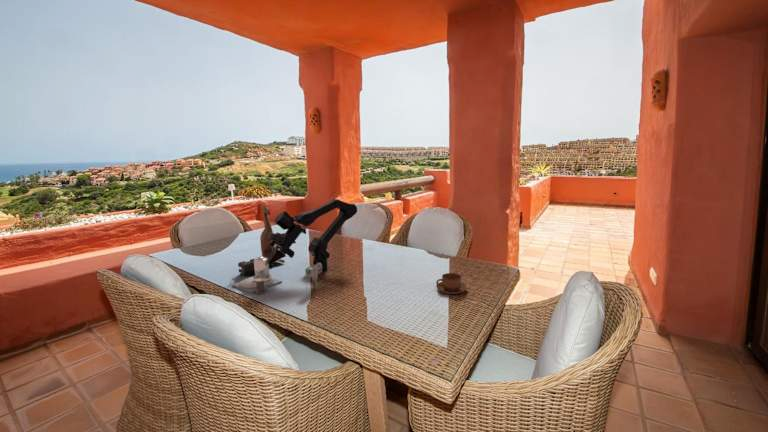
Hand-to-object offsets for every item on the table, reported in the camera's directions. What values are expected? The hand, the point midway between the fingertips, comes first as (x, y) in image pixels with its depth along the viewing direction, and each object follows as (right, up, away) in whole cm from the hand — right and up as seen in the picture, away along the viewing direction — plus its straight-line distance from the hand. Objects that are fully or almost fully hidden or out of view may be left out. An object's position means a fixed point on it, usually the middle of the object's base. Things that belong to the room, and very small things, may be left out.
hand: (268, 263), depth 154 cm
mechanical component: (+22, -9, -9) cm, 26 cm away
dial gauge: (0, -10, -11) cm, 15 cm away
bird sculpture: (-9, -5, +27) cm, 28 cm away
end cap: (-13, -7, +13) cm, 19 cm away
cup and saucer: (+79, -9, -15) cm, 81 cm away
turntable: (-5, -9, -2) cm, 10 cm away
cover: (-2, -7, -1) cm, 7 cm away
